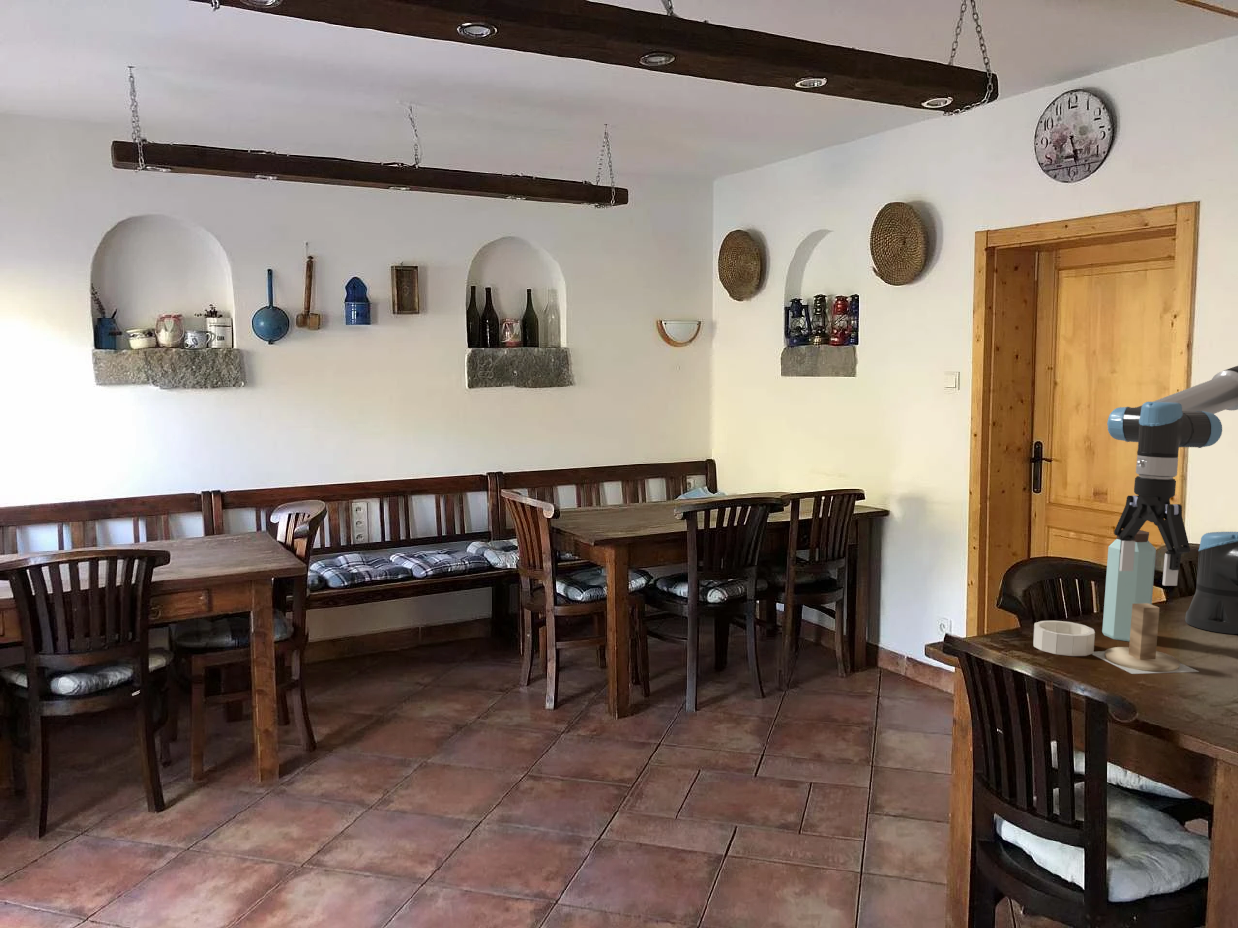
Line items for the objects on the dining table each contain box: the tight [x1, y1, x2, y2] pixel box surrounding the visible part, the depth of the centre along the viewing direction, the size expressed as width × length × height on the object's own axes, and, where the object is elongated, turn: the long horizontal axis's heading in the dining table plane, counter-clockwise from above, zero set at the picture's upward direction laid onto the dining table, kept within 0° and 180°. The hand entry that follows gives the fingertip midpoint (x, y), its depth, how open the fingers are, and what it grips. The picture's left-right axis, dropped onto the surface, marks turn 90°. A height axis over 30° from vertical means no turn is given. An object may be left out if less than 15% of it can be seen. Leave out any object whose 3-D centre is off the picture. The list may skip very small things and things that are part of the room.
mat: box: [1091, 650, 1200, 675], centre depth 211 cm, size 15×15×1 cm
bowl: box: [1033, 620, 1096, 657], centre depth 220 cm, size 12×12×5 cm
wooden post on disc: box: [1104, 603, 1181, 672], centre depth 211 cm, size 14×14×12 cm
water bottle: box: [1101, 529, 1157, 643], centre depth 229 cm, size 10×10×25 cm
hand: (1147, 577), depth 209 cm, fingers open, 13 cm apart
